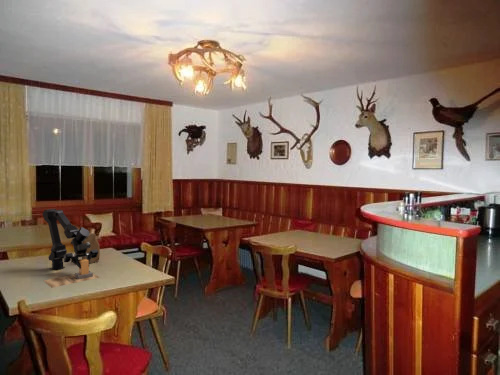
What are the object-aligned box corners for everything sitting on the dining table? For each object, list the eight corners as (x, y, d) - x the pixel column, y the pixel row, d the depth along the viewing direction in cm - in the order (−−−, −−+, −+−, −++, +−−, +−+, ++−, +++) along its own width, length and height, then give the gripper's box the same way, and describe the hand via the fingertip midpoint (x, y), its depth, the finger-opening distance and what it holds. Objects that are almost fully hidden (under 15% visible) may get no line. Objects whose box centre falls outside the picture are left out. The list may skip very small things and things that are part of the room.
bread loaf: (84, 264, 240) (83, 235, 239) (81, 262, 246) (80, 233, 245) (100, 262, 247) (100, 233, 246) (97, 259, 253) (96, 232, 252)
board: (51, 289, 193) (51, 287, 193) (43, 282, 204) (43, 280, 204) (99, 279, 211) (99, 277, 211) (89, 273, 222) (89, 271, 222)
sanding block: (78, 279, 207) (78, 262, 206) (75, 276, 212) (74, 260, 212) (92, 276, 212) (92, 260, 212) (89, 273, 218) (88, 257, 217)
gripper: (64, 240, 207) (70, 263, 200) (97, 236, 220) (103, 257, 213) (60, 251, 214) (66, 273, 206) (93, 246, 226) (99, 267, 219)
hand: (84, 267), depth 211 cm, fingers open, 4 cm apart
